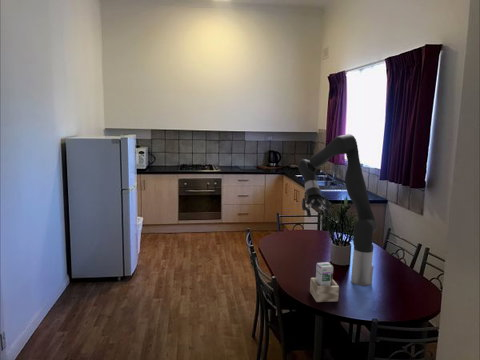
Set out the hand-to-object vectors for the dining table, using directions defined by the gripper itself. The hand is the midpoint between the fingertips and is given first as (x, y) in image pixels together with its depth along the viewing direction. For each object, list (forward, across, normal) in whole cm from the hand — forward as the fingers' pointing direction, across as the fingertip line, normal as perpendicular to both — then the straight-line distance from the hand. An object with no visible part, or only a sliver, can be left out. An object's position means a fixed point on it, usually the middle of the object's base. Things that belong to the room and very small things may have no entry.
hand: (317, 216), depth 200 cm
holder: (+40, -4, +3) cm, 41 cm away
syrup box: (+40, -4, +2) cm, 40 cm away
